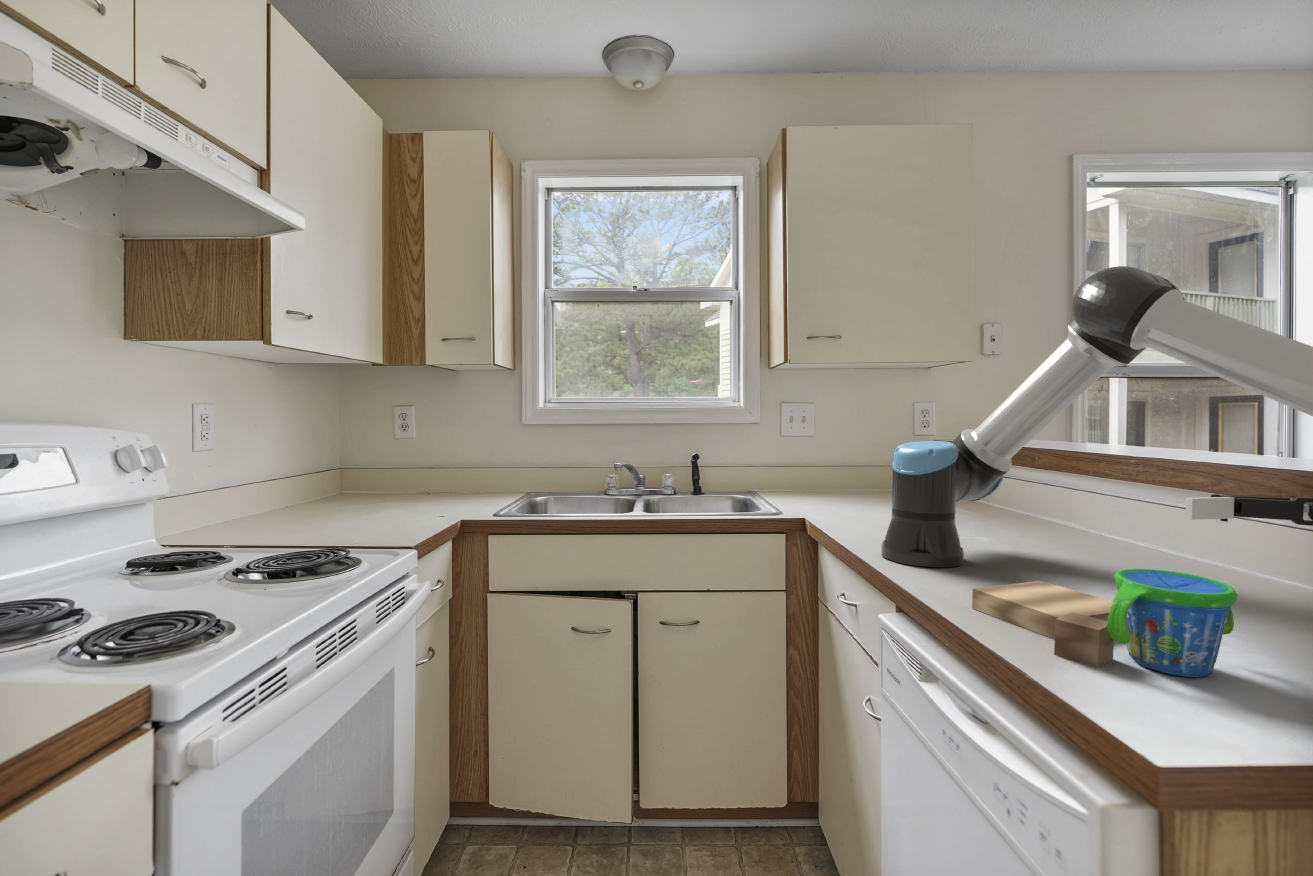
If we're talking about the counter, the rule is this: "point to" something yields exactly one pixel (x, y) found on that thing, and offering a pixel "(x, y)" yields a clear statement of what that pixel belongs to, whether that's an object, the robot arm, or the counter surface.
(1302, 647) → the counter surface
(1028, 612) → the oak base slab
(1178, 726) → the counter surface
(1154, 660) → the snack cup
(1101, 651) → the walnut block
